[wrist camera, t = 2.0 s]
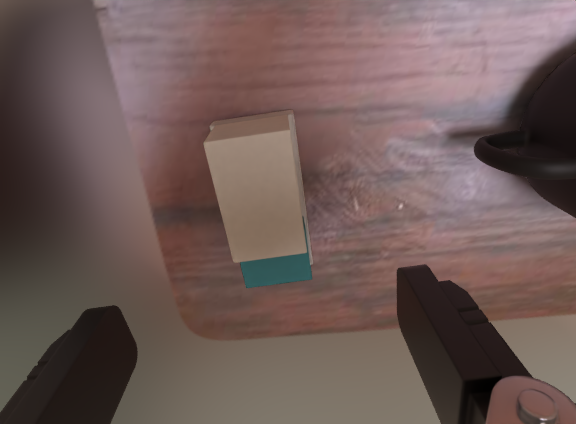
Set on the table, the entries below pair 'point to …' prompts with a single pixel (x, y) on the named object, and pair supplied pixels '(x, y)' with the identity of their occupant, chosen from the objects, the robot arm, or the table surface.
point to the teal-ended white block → (261, 196)
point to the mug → (542, 140)
